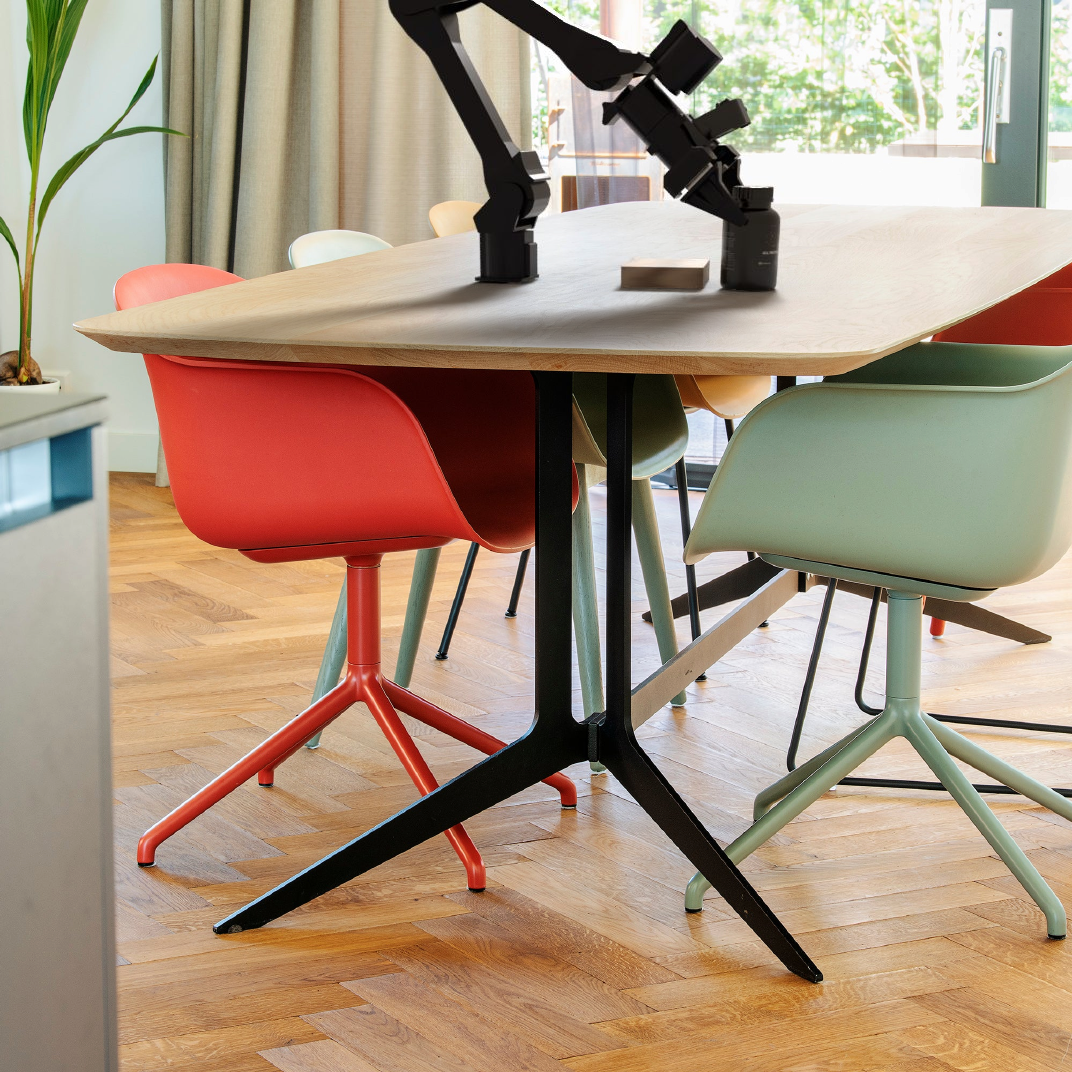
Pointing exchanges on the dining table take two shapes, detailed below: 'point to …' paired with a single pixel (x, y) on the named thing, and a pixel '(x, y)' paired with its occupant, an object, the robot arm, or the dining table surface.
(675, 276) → the tan flat square block
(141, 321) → the dining table surface
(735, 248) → the supplement bottle
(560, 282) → the dining table surface
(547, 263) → the dining table surface
